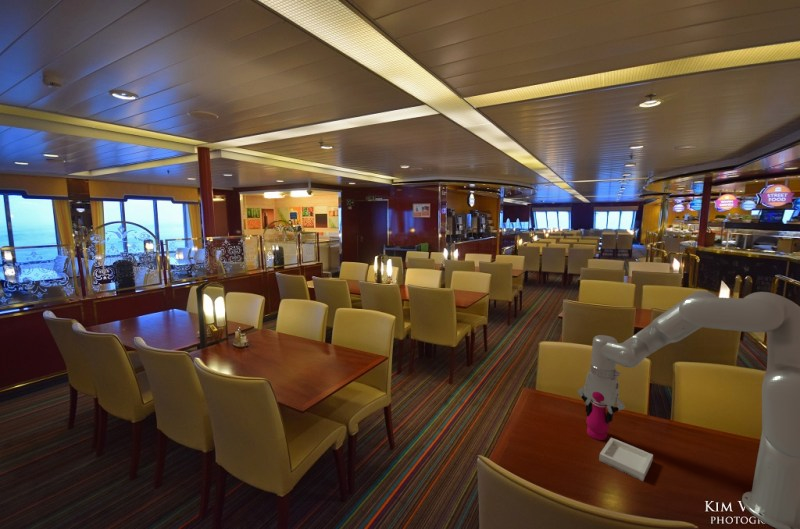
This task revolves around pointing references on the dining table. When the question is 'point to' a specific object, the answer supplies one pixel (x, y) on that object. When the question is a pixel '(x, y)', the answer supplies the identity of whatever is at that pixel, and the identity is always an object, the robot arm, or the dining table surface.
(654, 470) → the dining table surface
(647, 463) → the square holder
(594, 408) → the pepper mill
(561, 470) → the dining table surface
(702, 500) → the dining table surface
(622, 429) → the dining table surface
